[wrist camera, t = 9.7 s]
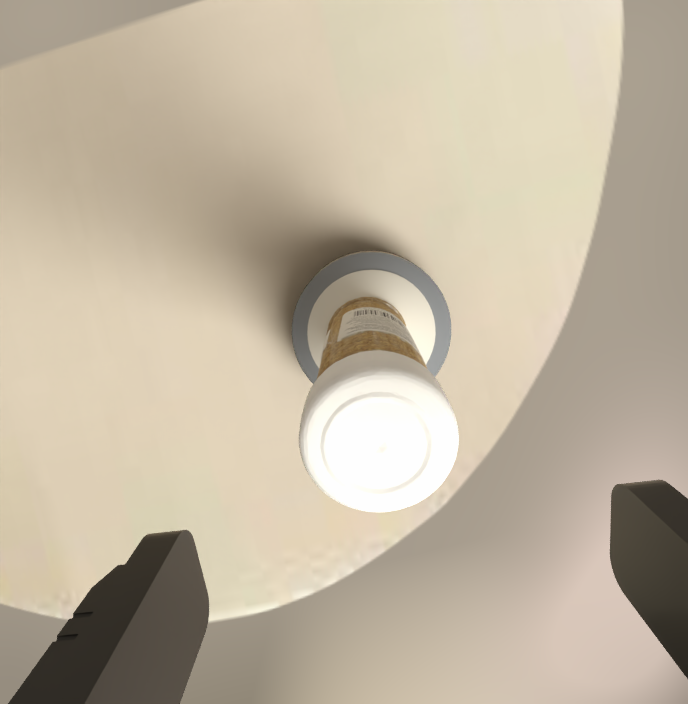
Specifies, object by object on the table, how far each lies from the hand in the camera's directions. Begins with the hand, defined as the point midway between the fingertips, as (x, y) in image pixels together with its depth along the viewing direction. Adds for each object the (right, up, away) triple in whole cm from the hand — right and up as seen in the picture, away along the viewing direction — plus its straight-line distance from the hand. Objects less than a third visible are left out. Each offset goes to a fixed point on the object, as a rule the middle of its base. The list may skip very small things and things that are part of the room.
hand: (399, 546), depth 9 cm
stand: (+1, +5, +19) cm, 20 cm away
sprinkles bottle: (0, +5, +17) cm, 18 cm away
